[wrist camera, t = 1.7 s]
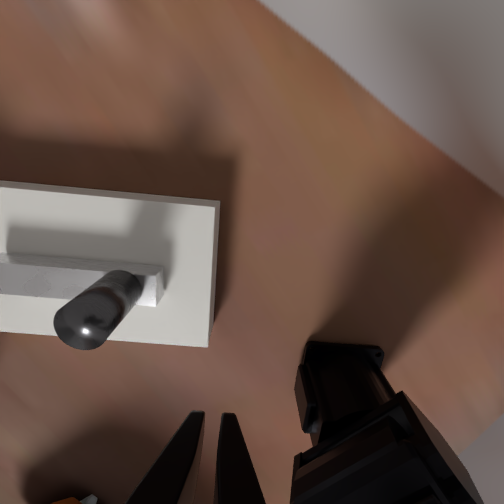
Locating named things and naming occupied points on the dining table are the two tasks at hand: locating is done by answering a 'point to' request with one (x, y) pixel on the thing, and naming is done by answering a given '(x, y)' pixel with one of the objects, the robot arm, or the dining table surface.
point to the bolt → (83, 292)
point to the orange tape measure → (91, 500)
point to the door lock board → (116, 254)
